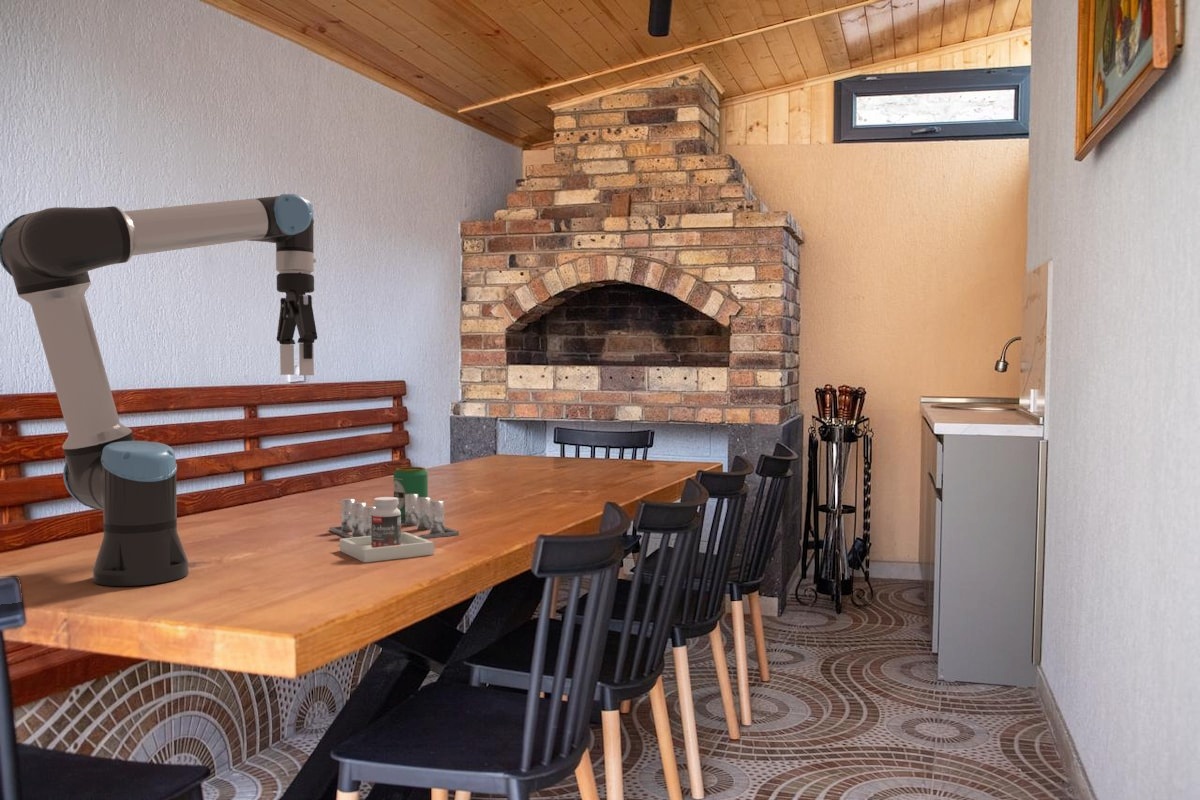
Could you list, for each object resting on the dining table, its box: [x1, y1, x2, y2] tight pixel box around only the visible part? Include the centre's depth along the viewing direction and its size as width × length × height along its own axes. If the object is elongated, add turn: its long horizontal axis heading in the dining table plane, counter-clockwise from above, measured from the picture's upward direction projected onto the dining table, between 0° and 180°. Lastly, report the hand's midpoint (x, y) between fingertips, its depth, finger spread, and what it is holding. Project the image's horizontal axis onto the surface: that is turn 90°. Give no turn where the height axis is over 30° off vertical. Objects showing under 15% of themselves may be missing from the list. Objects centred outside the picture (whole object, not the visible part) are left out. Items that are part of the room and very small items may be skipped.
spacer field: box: [329, 494, 460, 539], centre depth 222 cm, size 22×22×7 cm
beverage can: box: [393, 466, 429, 521], centre depth 242 cm, size 8×8×12 cm
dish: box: [339, 531, 435, 563], centre depth 198 cm, size 14×14×2 cm
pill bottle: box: [371, 496, 402, 548], centre depth 198 cm, size 6×6×10 cm
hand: (296, 375), depth 212 cm, fingers open, 13 cm apart
